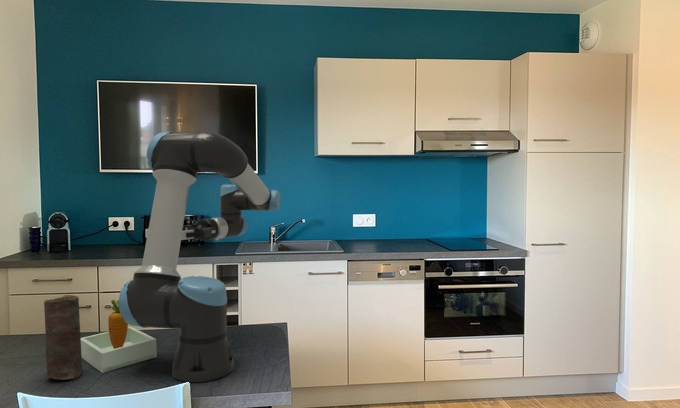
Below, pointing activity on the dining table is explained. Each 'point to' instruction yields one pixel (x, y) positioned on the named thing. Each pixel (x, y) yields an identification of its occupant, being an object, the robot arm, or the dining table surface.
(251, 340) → the dining table surface
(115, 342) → the carrot
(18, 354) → the dining table surface
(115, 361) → the bin
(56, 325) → the candle
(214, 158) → the robot arm
